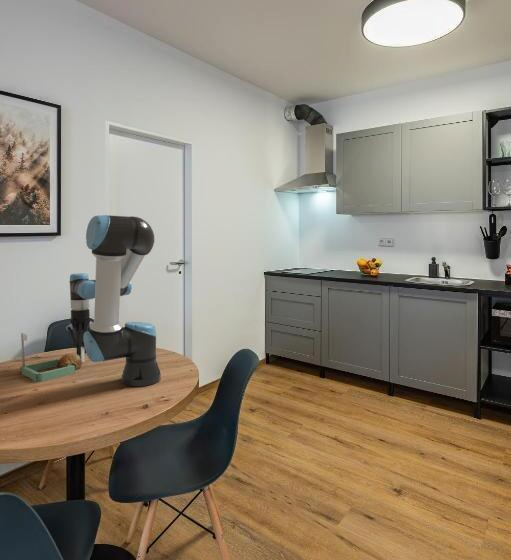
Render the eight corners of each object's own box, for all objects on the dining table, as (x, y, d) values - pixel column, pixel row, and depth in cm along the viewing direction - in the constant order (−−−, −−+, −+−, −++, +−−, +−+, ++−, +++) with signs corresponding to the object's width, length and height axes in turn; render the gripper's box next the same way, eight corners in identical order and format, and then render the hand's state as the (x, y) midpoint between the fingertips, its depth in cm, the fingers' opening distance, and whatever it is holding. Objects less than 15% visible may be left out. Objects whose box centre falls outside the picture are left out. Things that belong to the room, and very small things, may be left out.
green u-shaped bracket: (74, 373, 173) (73, 333, 172) (37, 382, 162) (35, 339, 160) (56, 365, 183) (55, 327, 182) (20, 373, 172) (18, 333, 170)
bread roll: (84, 374, 183) (88, 356, 185) (72, 371, 173) (76, 352, 176) (63, 373, 184) (67, 355, 186) (50, 370, 174) (54, 351, 177)
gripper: (89, 306, 189) (91, 356, 191) (61, 309, 179) (63, 363, 181) (98, 308, 184) (99, 360, 186) (69, 311, 174) (71, 366, 177)
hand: (81, 361), depth 184 cm, fingers closed
